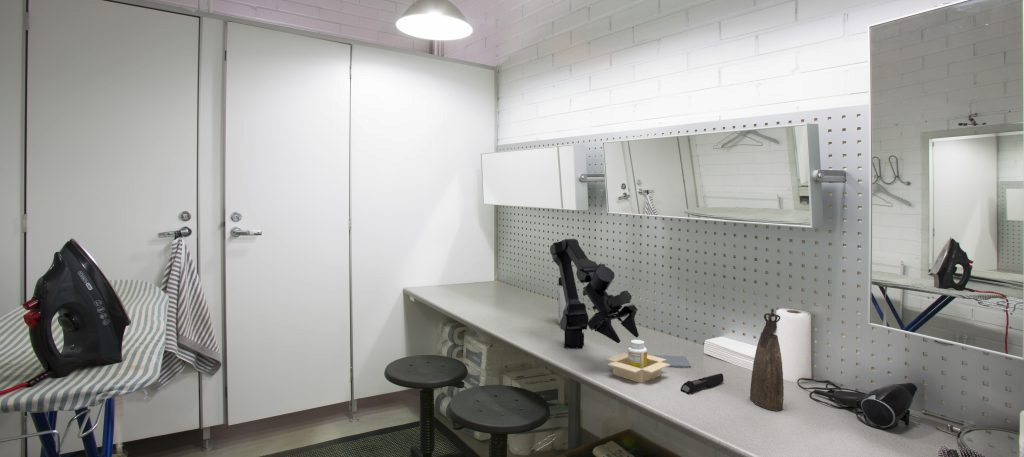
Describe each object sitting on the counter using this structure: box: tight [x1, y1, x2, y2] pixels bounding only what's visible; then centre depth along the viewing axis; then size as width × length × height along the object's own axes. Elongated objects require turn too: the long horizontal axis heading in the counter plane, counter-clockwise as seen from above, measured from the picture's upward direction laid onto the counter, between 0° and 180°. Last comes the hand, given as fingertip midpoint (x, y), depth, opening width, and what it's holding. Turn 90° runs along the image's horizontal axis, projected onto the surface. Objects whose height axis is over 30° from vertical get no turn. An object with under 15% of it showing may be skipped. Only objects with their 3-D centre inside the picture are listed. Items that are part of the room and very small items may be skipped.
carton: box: [606, 351, 670, 384], centre depth 159 cm, size 16×16×4 cm
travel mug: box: [557, 276, 566, 326], centre depth 218 cm, size 6×7×20 cm
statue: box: [749, 308, 785, 412], centre depth 135 cm, size 9×8×25 cm
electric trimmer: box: [680, 373, 725, 395], centre depth 148 cm, size 4×16×3 cm, turn 121°
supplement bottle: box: [627, 339, 648, 369], centre depth 158 cm, size 6×6×10 cm
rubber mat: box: [653, 354, 692, 369], centre depth 170 cm, size 10×10×1 cm
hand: (628, 339), depth 160 cm, fingers open, 9 cm apart
